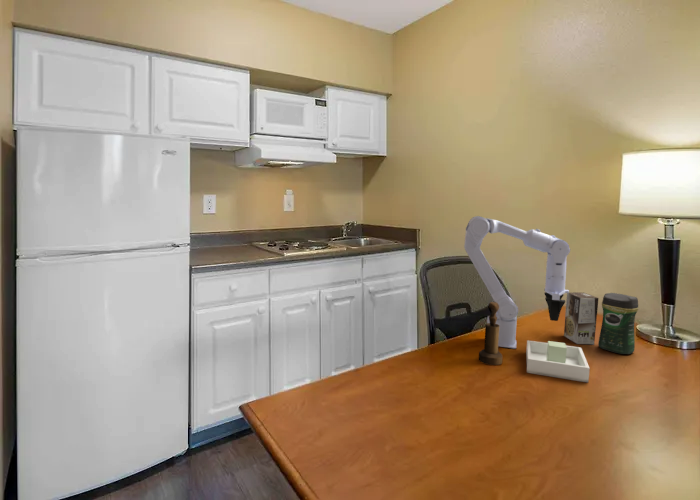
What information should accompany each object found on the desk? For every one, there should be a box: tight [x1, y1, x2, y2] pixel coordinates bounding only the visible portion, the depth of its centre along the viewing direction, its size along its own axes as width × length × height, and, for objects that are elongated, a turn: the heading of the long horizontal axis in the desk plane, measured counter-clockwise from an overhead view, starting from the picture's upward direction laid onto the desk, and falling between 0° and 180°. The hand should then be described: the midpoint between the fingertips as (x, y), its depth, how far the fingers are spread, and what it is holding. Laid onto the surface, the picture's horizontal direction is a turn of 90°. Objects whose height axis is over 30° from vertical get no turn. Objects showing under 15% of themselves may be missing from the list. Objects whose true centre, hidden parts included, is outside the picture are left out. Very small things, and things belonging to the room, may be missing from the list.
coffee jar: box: [598, 292, 639, 355], centre depth 133 cm, size 10×8×19 cm
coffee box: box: [563, 291, 600, 345], centre depth 143 cm, size 9×6×16 cm
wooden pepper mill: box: [478, 301, 503, 366], centre depth 122 cm, size 7×6×18 cm
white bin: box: [525, 339, 591, 383], centre depth 120 cm, size 15×17×4 cm
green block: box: [546, 340, 567, 363], centre depth 119 cm, size 4×4×6 cm
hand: (553, 317), depth 134 cm, fingers open, 7 cm apart
